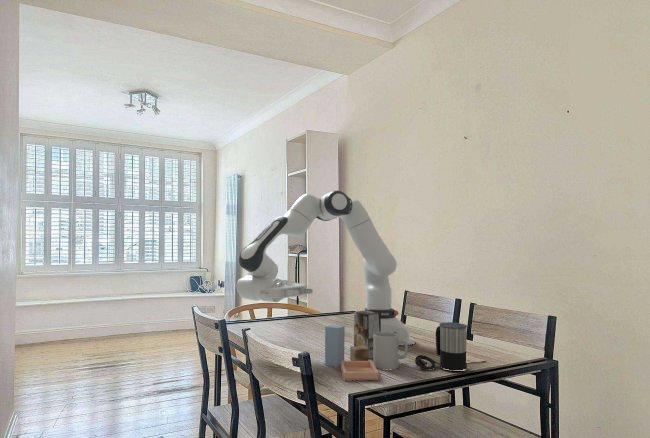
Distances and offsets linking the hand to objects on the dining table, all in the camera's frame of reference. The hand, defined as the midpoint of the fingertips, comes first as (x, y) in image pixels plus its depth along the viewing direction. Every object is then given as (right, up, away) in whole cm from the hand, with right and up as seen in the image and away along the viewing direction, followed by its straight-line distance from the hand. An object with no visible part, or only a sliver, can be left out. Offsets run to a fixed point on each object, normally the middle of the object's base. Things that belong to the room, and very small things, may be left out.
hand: (305, 292), depth 162 cm
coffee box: (+23, -25, +6) cm, 34 cm away
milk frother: (+47, -24, -11) cm, 54 cm away
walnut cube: (+19, -24, -3) cm, 31 cm away
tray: (+18, -23, -19) cm, 35 cm away
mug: (+30, -24, -9) cm, 39 cm away
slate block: (+11, -24, -7) cm, 27 cm away
